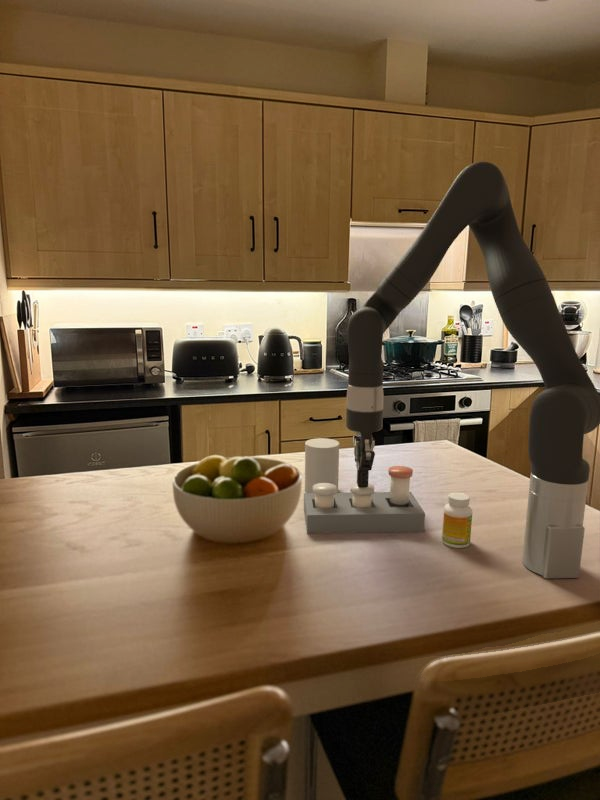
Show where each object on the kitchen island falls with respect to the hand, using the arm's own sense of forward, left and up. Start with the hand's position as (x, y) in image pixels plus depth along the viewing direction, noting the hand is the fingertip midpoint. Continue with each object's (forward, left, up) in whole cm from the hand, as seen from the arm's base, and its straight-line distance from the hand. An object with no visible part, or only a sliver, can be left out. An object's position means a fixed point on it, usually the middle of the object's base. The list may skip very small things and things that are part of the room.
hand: (362, 486), depth 121 cm
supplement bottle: (-11, -17, -8) cm, 22 cm away
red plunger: (0, -8, -4) cm, 9 cm away
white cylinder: (+18, +7, -8) cm, 21 cm away
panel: (0, 0, -8) cm, 8 cm away
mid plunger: (0, 0, -7) cm, 7 cm away
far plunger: (0, +8, -7) cm, 11 cm away
